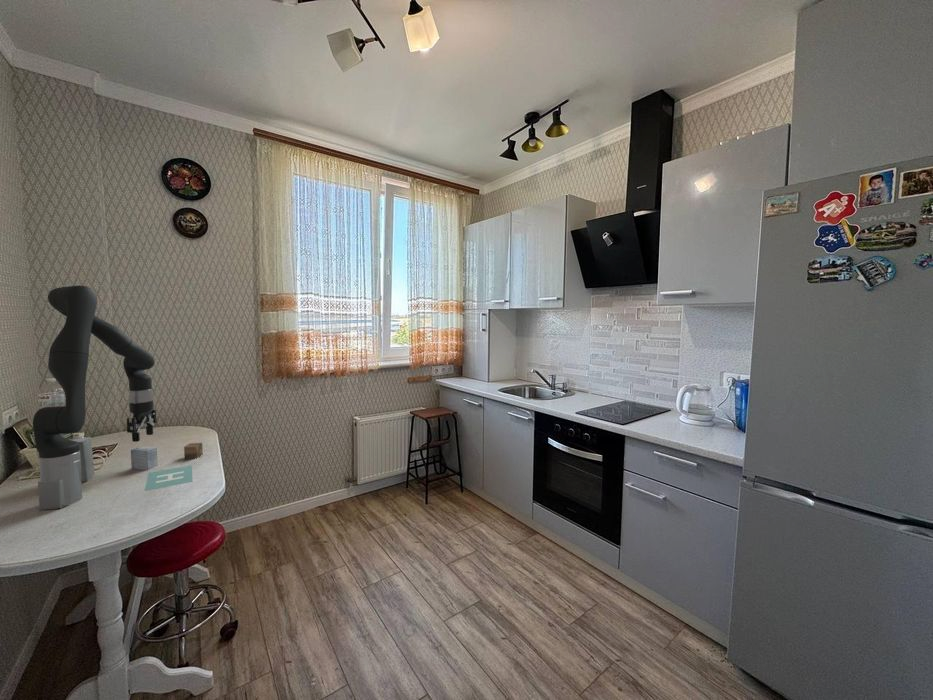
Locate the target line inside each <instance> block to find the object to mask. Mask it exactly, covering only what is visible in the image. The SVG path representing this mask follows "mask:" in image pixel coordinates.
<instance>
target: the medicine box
mask: <svg viewBox="0 0 933 700" xmlns="http://www.w3.org/2000/svg"><path fill="white" fill-rule="evenodd" d="M158 458H159V457H158V447H156V446H155V447H153V446H138V447H135V448H133V449H130V460H131V461H130V462H131V464H130V465H131V469H132V470H145V471H149V470H152V469H155V468H156V467H157V468H158V466H159V461H158Z"/></svg>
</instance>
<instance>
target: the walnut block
mask: <svg viewBox="0 0 933 700" xmlns="http://www.w3.org/2000/svg"><path fill="white" fill-rule="evenodd" d="M203 452H204V451H203V442H190V443H188V444H186V445H185V446H183V457H184V460H193V459H195V458H196V459H197V458H198V457H199V458H201V457H202V456H203V454H204V453H203ZM201 455H202V456H201ZM200 456H201V457H200ZM199 458H198V459H199Z"/></svg>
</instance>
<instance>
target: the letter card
mask: <svg viewBox="0 0 933 700" xmlns="http://www.w3.org/2000/svg"><path fill="white" fill-rule="evenodd" d="M188 483H193V465H192V464H190V465H185V466H179V467H174V468H168V469H162V470H157V471H156V470H155V471H151V472H148V476H147V480H146V483H145V488H144V492H147V491H152V490H157V489H161V488H166V487H172V486H177V485H183V484H188Z"/></svg>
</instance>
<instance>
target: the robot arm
mask: <svg viewBox="0 0 933 700" xmlns="http://www.w3.org/2000/svg"><path fill="white" fill-rule="evenodd" d="M47 294H48V295H47V301H48V303H49V305H50V306H51V307H52V308H53V309H55V310H56V311H57V312H59V313H60V314H62V315H63V316H65V318H66V319H65V323H64V325H63V327H62V328H61V330H60V331H59V333H58V335H57V336H56V337H55V338H54V340H53V342H52V344H51V346H50V348H49V354H48V359H47V367H48V370H49V372H50V373H51V375H52V376H53V378H54V379H55V380H56V382H57V383H58V384H59V385H60V387H61V388H62V390H63V393H64V398H65V406H62V405H59V406H45V407H40V408H39V409H38V410H37V411H36V412H35V413H34V415H33V417H32V429H33V437H34V442H35V443H34V444H35V449H36V452H37V453H38V460H39V461H38V463H39V477H40V480H39V481H37V489H38V490H37V491H38V492H37V493H38V505H39V511H40V510H41V511H42V510H43V511H44V510H55V509H56V510H57V508H60V509H63V508H65V507H68V506H70V505H73V504H75V503H79V502H80V501H81V500H83V482H82V478H81V461H80V445H79V443H78V442H76V441H72V440H71V439H69V438H65V437H64V436H62V435H64V434H65V435H66V434H67V435H68V434H75V433H78V432H80V431H81V430H83V427H84V425H85V421H86V410H87V409H86V383H87V381H86V380H87V374H88V373H87V371H88V364H89V356H90V342H91V335H93V336H94V337H96V338H97V339H98V340H99V341H101V342H102V343H103V344H104V345H105V346H106V347H108V349H109V350H110V351H112V352H113V353H115V354H116V355H119V356H121V357H124V358H123V362H122V365H123V368H124V371H125V374H126V377H127V379H128V390H129V392H128V407H129V413H130V414H133V415H132V417H127V418H126V432H127V433H129V434H131V439H132V442H135V443H137V442H139V441H140V440H141V438H140V436H141V434H140V430H141V429H142V428H143V426H144V425H145V430H146V431H145V432H146V436H152V435H154V426H155V424H157V419H158V418H157V411H156V410H155V409H154V393H153V388H152V387H153V384H152V382H153V381H152V377H151V376H150V375H149V374H146V372H145V371H146V370H150V369H152V368H153V367H154V365H155V362H156V360H155V358H154V356H153V355H152V354H151V353H150V352H149V351H147V350H146V349H144V348H143V347H141V346H140V345H139V344H137V343H135V342H134V341H133V340H132V339H131V338H130V337H129V336H128V335H127V334H126V333H125V332H124V331H123V330H121V329H120V328H119V327H116V326H115V325H113V324H111V323H110V322H107V321H106V320H104V319H102V318H100V317H99V316H97V315H96V310H97V305H98V296H97V294H96V293H95V291H94V290H93V289H92V288H90V287H89V286H86V285H81V284H80V285H69V286H61V287H56V288H53V289H51V290H50V291H49V292H48V293H47ZM67 505H68V506H67ZM64 506H65V507H64Z"/></svg>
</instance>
